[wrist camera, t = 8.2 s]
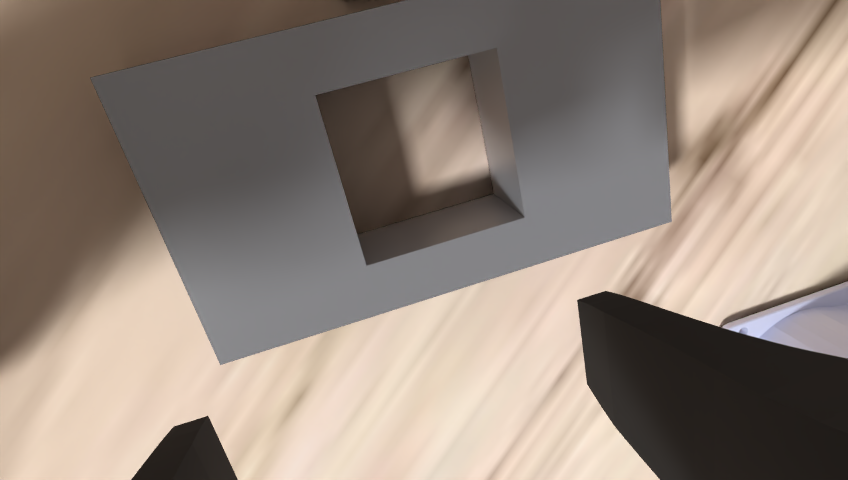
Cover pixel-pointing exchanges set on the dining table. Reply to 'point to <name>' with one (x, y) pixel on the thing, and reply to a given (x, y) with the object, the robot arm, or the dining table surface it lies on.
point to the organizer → (319, 178)
